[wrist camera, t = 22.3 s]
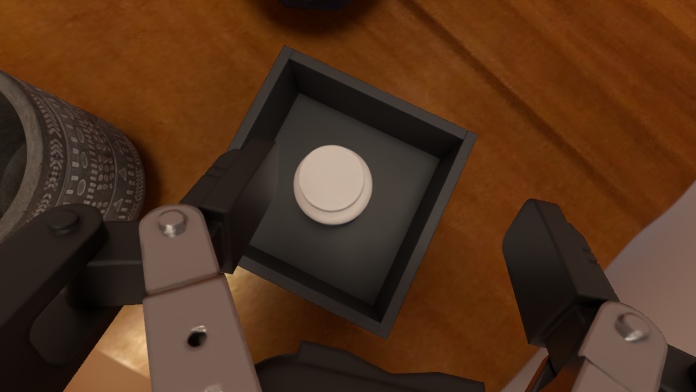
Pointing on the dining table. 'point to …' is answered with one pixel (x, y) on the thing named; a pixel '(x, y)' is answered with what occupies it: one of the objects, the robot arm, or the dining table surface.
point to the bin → (386, 198)
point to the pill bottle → (333, 185)
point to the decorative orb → (316, 4)
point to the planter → (61, 159)
